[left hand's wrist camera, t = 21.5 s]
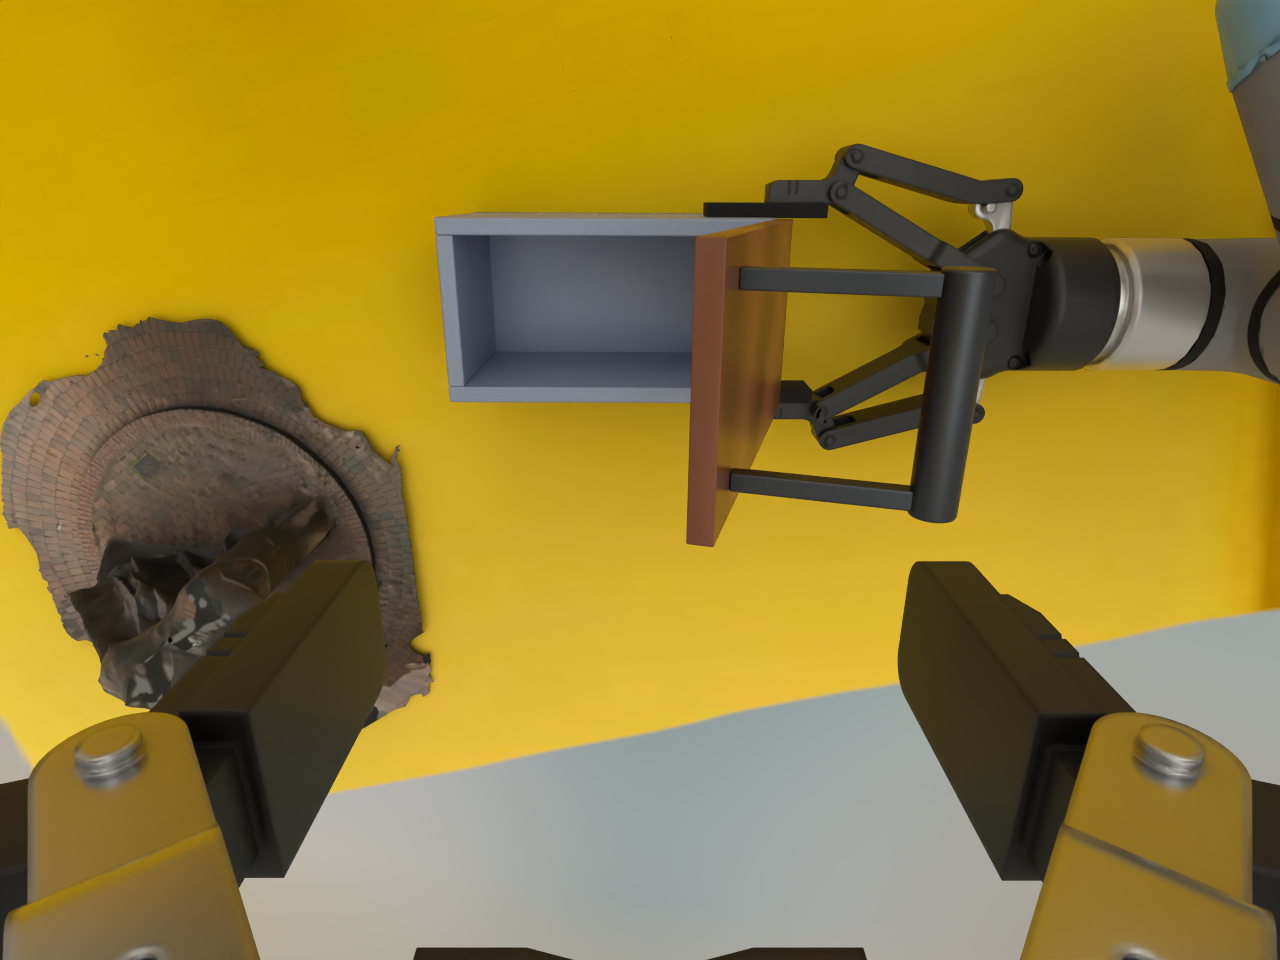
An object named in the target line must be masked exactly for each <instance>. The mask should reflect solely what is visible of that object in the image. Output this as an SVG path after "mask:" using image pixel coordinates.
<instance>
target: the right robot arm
mask: <svg viewBox="0 0 1280 960" xmlns="http://www.w3.org/2000/svg"><path fill="white" fill-rule="evenodd" d="M1215 16H1216V21H1217V26H1218V30H1219V35H1220V40H1221V46H1222V51H1223V56H1224V62H1225V67H1226V72H1227V78H1228V81H1227V83H1226V84H1227V86H1228V89H1229V91H1230V92H1232V94H1233V97H1234V101H1235V104H1236V107H1237V110H1238V113H1239V116H1240V120H1241V123H1242V126H1243V129H1244V132H1245V135H1246V139H1247V142H1248V145H1249V148H1250V151H1251V154H1252V158H1253V161H1254V164H1255V167H1256V170H1257V173H1258V177H1259V180H1260V183H1261V186H1262V189H1263V192H1264V196H1265V199H1266V202H1267V205H1268V208H1269V211H1270V215H1271V219H1272V222H1273V226H1274V228H1275V232H1276V235H1277V238H1238V239H1185V238H1105V239H1102V240H1100V241H1099V240H1097V239H1095V238H1049V237H1023V236H1021V235H1019V234H1017V233H1016V232H1014V231H1012V230H1010V229H1011V218H1012V206H1013V201H1016V200H1017V199H1018V198H1019V197H1020V196H1021V195H1022V192H1023V184H1022V182H1021V181H1020V180H1018V179H1015V178H1007V179H990V180H977V179H973V178H970V177H967V176H963V175H960V174H957V173H954V172H950V171H947V170H944V169H941V168H937V167H934V166H931V165H928V164H924V163H921V162H918V161H915V160H911V159H908V158H905V157H902V156H898V155H895V154H892V153H888V152H885V151H882V150H879V149H875V148H872V147H869V146H866V145H862V144H854V145H850V146H846V147H843V148H840V149H839V150H838V151H837V153H836V155H835V162H834V164H833V166H832V169H831V171H830V173H829V174H828V176H827V177H825V178H824V179H822V180H777V181H773V182H771V183H768V184H766V186H765V203H710V202H704V209H703V216H705V217H767V218H827V214H828V205H829V206H831V207H833V208H834V209H836V210H838V211H839V212H841V213H842V214H844V215H846V216H847V217H849V218H850V219H852V220H854V221H855V222H857V223H859V224H860V225H862V226H863V227H865V228H867V229H868V230H870V231H871V232H873V233H875V234H876V235H878V236H880V237H881V238H883V239H884V240H886V241H888V242H889V243H891V244H892V245H894V246H896V247H897V248H899V249H901V250H902V251H904V252H905V253H907V254H909V255H910V256H912V257H913V258H914V259H915V260H917V261H918V262H920V263H921V264H923V265H925V266H926V267H928V268H929V269H931V271H932V272H941V269H942V268H944V267H948V266H973V267H987V268H993V269H996V270H997V271H998V275H997V281H996V286H995V292H994V298H993V304H992V310H991V316H990V322H989V328H988V334H987V340H986V346H985V352H984V358H983V364H982V370H981V376H980V382H979V388H978V394H977V400H976V406H975V411H974V417H973V423H972V424H976V423H978V422H980V421H981V420H982V419H983V417H984V415H985V411H984V408H983V407H982V406H981V405H979V401H980V397H981V393H982V389H983V385H984V381H985V378H989V377H991V376H993V375H995V374H997V373H999V372H1003V371H1009V370H1041V371H1073V370H1078V369H1081V368H1084V369H1086V370H1089V371H1102V370H1205V371H1228V372H1236V373H1242V374H1246V375H1249V376H1253V377H1256V378H1260V379H1263V380H1266V381H1270V382H1273V383H1276V384H1280V0H1217V2H1216V7H1215ZM858 175H862V176H865V177H868V178H872V179H875V180H878V181H881V182H885V183H888V184H891V185H895V186H898V187H901V188H905V189H908V190H911V191H914V192H918V193H921V194H924V195H928V196H931V197H934V198H938V199H941V200H944V201H948V202H952V203H959V204H968V211H969V214H970V215H971V216H972V217H973V218H977V219H980V220H982V221H983V222H984V223H985V226H986V230H985V231H983V232H982V233H981V234H979V235H978V236H976V237H975V238H973V239H972V240H970V241H969V242H967V243H966V244H964V245H963V246H961V247H960V248H958V249H956V248H954V247H953V246H951V245H950V244H948V243H946V242H943V241H941V240H939V239H938V238H936V237H934V236H933V235H931V234H930V233H928V232H926V231H925V230H923V229H922V228H920V227H918V226H917V225H915V224H914V223H912V222H910V221H909V220H907V219H906V218H904V217H903V216H901V215H899V214H898V213H896V212H895V211H893V210H891V209H890V208H888V207H887V206H885V205H883V204H882V203H880V202H879V201H877V200H875V199H874V198H872V197H871V196H869V195H868V194H866V193H864V192H863V191H861V190H860V189H858V188H856V187H855V186H854V184H855V182H856V179H857V177H858ZM924 298H925V304H924V307H923V309H922V312H921V314H920V318H919V326H918V329H919V330H921V332H922V333H920V334H918V335H916V336H914V337H912V338H910V339H908V340H906V341H905V342H904V343H903V344H902V345H901V346H900V347H898V348H896V349H894V350H892V351H890V352H889V353H887V354H885V355H883V356H881V357H879V358H877V359H875V360H873V361H871V362H869V363H867V364H865V365H863V366H861V367H859V368H857V369H855V370H853V371H851V372H850V373H848V374H846V375H844V376H842V377H840V378H838V379H836V380H834V381H832V382H830V383H828V384H826V385H824V386H822V387H820V388H818V389H816V390H814V391H812V390H811V389H810V388H809V387H808V385H807V384H806V383H805V382H804V381H803V380H781V388H780V402H779V407H778V410H777V412H776V414H775V416H774V418H773V419H805V420H808V421H809V422H810V425H811V432H812V434H813V436H814V437H815V438H816V440H817V441H818V443H819V444H820V445H821V447H823V448H824V449H826V450H832V449H836V448H840V447H844V446H848V445H852V444H856V443H860V442H864V441H868V440H872V439H876V438H880V437H884V436H888V435H892V434H897V433H901V432H905V431H909V430H913V429H917V428H918V427H919V420H920V413H921V406H922V399H923V394H921V395H917V396H913V397H909V398H905V399H901V400H897V401H893V402H889V403H885V404H881V405H877V406H873V407H869V408H865V409H861V410H858V411H854V412H850V413H846V414H842V415H838V416H835V415H837V414H839V413H841V412H843V411H845V410H847V409H849V408H851V407H853V406H855V405H857V404H859V403H861V402H863V401H865V400H867V399H869V398H871V397H873V396H875V395H877V394H879V393H881V392H883V391H885V390H887V389H889V388H891V387H893V386H895V385H897V384H899V383H901V382H903V381H905V380H907V379H909V378H911V377H913V376H915V375H917V374H919V373H921V372H924V371H927V364H928V357H929V349H930V342H931V335H932V328H933V321H934V314H935V307H936V300H937V298H930V297H924ZM833 416H834V417H833Z"/></svg>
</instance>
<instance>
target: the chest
mask: <svg viewBox="0 0 1280 960" xmlns="http://www.w3.org/2000/svg"><path fill="white" fill-rule="evenodd" d="M774 219H777V218H767V217H705V216H703V214H680V213H486V212H476V213H470V214H461V215H452V216H443V217H436V218H435V219H434V220H435V232H436V235H437V236H436V244H437V255H438V267H439V278H440V290H441V301H442V313H443V324H444V336H445V347H446V359H447V370H448V382H449V395H450V402H594V403H691V369H692V335H693V301H694V267H695V238H696V237H698V236H702V235H707V234H711V233H716V232H720V231H725V230H729V229H734V228H738V227H743V226H747V225H752V224H756V223H761V222H765V221H770V220H774Z"/></svg>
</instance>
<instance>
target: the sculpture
mask: <svg viewBox="0 0 1280 960" xmlns="http://www.w3.org/2000/svg"><path fill="white" fill-rule="evenodd" d="M117 327H118V328H117V330H109V332H108V333H104V334H103V338H104V339H105V340H106V343H107V348H106V350H105V351H104V357H105V359H104V358H102V359H103V360H102V363H101V365H100V366H99V367H98V368H97V370H95V371H94V372H92V373H90V374H89V375H88V376H84V375H77V376H72V377H65V378H60V379H57V380H54V381H50V382H49V381H45V380H43V381H41V382H40V383H39V384H38V385H37V387H36V388H34V389H32V390H31V391H30V392H28V393H27V394H26V396H25V397H24V398H23V399H22V401H21V402H20V403H19V404H18V405H17V406H16V407H14V408H13V409H12V410H11V411H10V413H9V415H8V417H7V419H6V421H5V423H4V424H3V429H2V432H1V441H0V442H1V448H2V449H1V451H2V455H3V456H4V457H2V458H3V460H2V462H3V464H2V476H3V477H2V482H3V483H2V496H3V497H2V502H4V506H3V510H4V511H3V513H2V514H3V516H4V517H5V519H6V521H7V522H8V523H7V524H8V528H9V529H10V528H14V527H18V528H20V529H21V531H22V532H23V533H24V535H25V536H26V537H27V539H28V540H29V542H30V543H31V545H32V546H33V548H34V549H35V551H36V553H37V555H38V560H39V566H40V569H39V571H40V572H41V575H42V578H43V580H46V581H48V585H49V586H48V587H47V589H48V591H49V592H50V593H52V596H53V600H54V602H55V605H56V608H57V611H58V613H59V614H60V615H61V621H62V623H63V626H64V627H63V628H64V629H65V631H66V632H67V633H68V634H69V635H70V636H71V637H72V638H73V639H75V640H77V641H81V640H88V641H91V642H92V643H93V646H94V648H95V649H96V651H97V654H98V655H99V657H100V662H101V673H100V677H99V680H98V682H99V683H100V684H101V686H102V688H103V690H104V691H105V692H106V693H108V694H111V695H113V696H114V697H116V698H118V699H121V700H122V701H124V702H125V705H126V706H128V707H136V708H147V709H150V710H151V709H152V708H153V707H154V706H155V705H156V704H157V703H158V701H159V700H160V699H161V698H162V697H163V696H164V695H165V694H166V693H167V692H168V691H169V690H170V689H171V688H172V687H173V686H174V685H175V684H176V683H177V682H178V681H179V679H180V678H181V677H182V676H183V675H184V674H185V673H186V672H187V671H188V670H189V669H190V668H191V667H192V666H193V665H194V664H195V663H196V662H197V661H198V660H199V659H200V657H201V656H206V651H207V650H208V649H209V648H210V647H211V646H212V645H213V644H214V643H215V642H216V641H217V640H218V639H219V638H223V637H224V632H225V631H226V630H227V629H228V628H229V627H230V626H231V625H232V624H233V623H234V622H235V621H236V620H237V619H238V618H239V617H240V616H241V614H242V613H243V612H244V611H246V610H248V609H250V608H251V607H253V606H255V605H256V604H258V603H260V602H262V601H263V600H265V599H267V598H269V597H270V596H272V595H274V594H275V593H285V592H286V591H287V590H288V589H289V588H290V586H291V585H292V584H293V583H294V582H295V581H296V580H297V579H298V578H299V576H300V575H301V574H302V573H303V572H304V571H305V570H306V569H307V568H308V566H309V565H310V564H311V563H312V562H314V561H316V560H367V561H369V562H370V563H371V565H372V567H373V569H374V573H375V577H376V584H377V591H378V598H379V606H380V613H381V620H382V627H383V634H384V641H385V644H387V645H388V646H387V647H386V648H385V649H386V671H385V678H384V683H383V687H382V690H381V693H380V695H379V697H378V699H377V701H376V703H375V704H374V706H373V708H372V710H371V712H370V714H369V716H368V718H367V720H366V722H365V724H364V726H363V727H362V729H363V728H364V727H366V726H368V725H370V724H371V723H373V722H375V721H376V720H378V719H380V718H381V717H383V716H385V715H386V714H388V713H389V712H391V711H393V710H395V709H398V708H401V707H405V706H406V704H407V702H408V700H409V698H410V696H412V695H416V694H420V693H421V694H422V696H423V697H424V696H426V695H427V694H429V692H430V690H429V689H428V687H429V682H434V681H433V680H432V679H431V677H430V676H429V674H430V672H431V668H430V666H429V663H430V662H431V659H430V655H429V653H428V654H427V655H419V654H417V653H415V652H414V651H413V650H412V649H411V648H410V647H409V644H410V642H411V641H412V640H413V639H414V638H416V637H417V636H418V635H420V634H422V633H423V632H425V631H423V630H422V629H421V626H422V622H421V617H420V615H421V614H420V611H419V604H418V601H417V599H418V597H417V590H415V589H416V587H415V586H416V582H415V573H414V572H413V571H414V569H413V567H414V566H413V556H412V552H411V544H410V539H409V538H408V537H407V535H408V534H409V531H408V527H409V526H408V523H407V517H406V513H405V510H404V509H405V503H404V501H403V499H402V497H401V495H402V493H401V491H402V489H401V483H402V481H401V480H402V478H401V473H400V471H401V468H400V466H399V463H398V462H397V461H396V458H397V452H398V451H400V450H399V449H398V447H396V450H395V452H394V454H393V456H392V459H391V463H392V464H393V465H390V464H389V463H387V462H386V461H385V460H383V459H382V458H381V457H380V456H379V455H378V454H377V452H376V451H375V450H374V449H373V448H372V446H371V444H370V442H369V440H368V438H367V437H366V435H365V434H364V433H363V432H362V433H361V431H356V430H353V431H345V430H340V429H338V428H337V427H334V426H333V425H330V424H326V423H325V422H323V421H320V420H319V419H318V418H317V417H313V415H312V413H311V410H310V409H309V408H308V406H307V404H306V403H305V402H303V401H302V396H301V391H300V390H299V389H300V388H298V386H296V385H294V384H293V382H291V381H290V380H288V379H286V378H283V377H281V376H278V375H277V374H276V373H275V372H272V371H270V370H267V369H262V368H260V367H262V366H264V363H263V362H262V361H260V360H259V359H257V358H256V357H255V356H257V355H260V353H259V352H258V351H252V349H250V347H246V346H245V348H243V347H242V345H241V344H240V342H239V341H238V339H237V338H236V337H235V336H234V334H233V333H232V332H231V331H230V330H229V329H228V328H227V327H226V326H225V325H224V324H223V323H221V322H219V321H217V320H211V319H199V320H193V321H188V322H183V323H175V322H169V321H164V320H157V319H155V318H150V317H149V318H148V319H147V320H146V321H141V320H140V323H138V324H136V326H134V327H133V328H131V327H126V326H123V325H121V324H119V325H118V326H117ZM95 355H97V356H99V355H98V354H95ZM85 357H88V355H86V356H85ZM34 392H37V393H39V394H40V398H41V399H40V402H39V404H38V405H37V406H35V407H33V406H31V404H30V396H31V394H32V393H34ZM356 446H358V447H360V448H359V449H357V448H356ZM398 446H399V445H398ZM371 461H373V462H371ZM76 590H77V591H76ZM73 591H74V592H73ZM422 631H423V632H422Z"/></svg>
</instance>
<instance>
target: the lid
mask: <svg viewBox="0 0 1280 960" xmlns="http://www.w3.org/2000/svg"><path fill="white" fill-rule="evenodd" d="M792 223H793V220H792V219H774V220H770V221H765V222H761V223H756V224H752V225H747V226H743V227H738V228H734V229H729V230H725V231H720V232H716V233H711V234H707V235H702V236H698V237H696V238H695V267H694V301H693V335H692V369H691V403H690V436H689V470H688V504H687V538H686V543H687V544H692V545H699V546H707V547H714V545H715V542H716V540H717V538H718V536H719V534H720V532H721V530H722V527H723V525H724V523H725V521H726V519H727V517H728V515H729V512H730V510H731V508H732V506H733V504H734V502H735V500H736V497H737V495H738V493H739V492H740V493H750V494H759V495H768V496H777V497H786V498H795V499H804V500H813V501H823V502H832V503H841V504H850V505H859V506H868V507H877V508H886V509H895V510H905V511H908V514H909V515H911V516H912V517H914V518H916V519H918V520H922V521H925V522H931V523H948V522H952V521H954V520H955V519H956V517H957V513H958V507H959V501H960V495H961V489H962V483H963V477H964V471H965V465H966V459H967V453H968V447H969V441H970V435H971V429H972V423H973V417H974V411H975V406H976V400H977V394H978V388H979V382H980V376H981V370H982V364H983V358H984V352H985V346H986V340H987V334H988V328H989V322H990V316H991V310H992V304H993V298H994V292H995V286H996V281H997V275H998V271H997V270H996V269H993V268H987V267H973V266H948V267H944V268H942V269H941V272H932V271H899V270H865V269H832V268H798V267H789V264H790V250H791V237H792ZM787 292H800V293H826V294H852V295H878V296H904V297H930V298H937V300H936V307H935V314H934V321H933V328H932V335H931V342H930V349H929V357H928V364H927V371H926V378H925V385H924V392H923V399H922V406H921V413H920V420H919V427H918V434H917V441H916V448H915V455H914V462H913V469H912V476H911V483H910V486H909V485H899V484H889V483H879V482H870V481H860V480H850V479H840V478H830V477H820V476H810V475H800V474H790V473H781V472H771V471H761V470H751V469H750V467H751V465H752V463H753V461H754V459H755V457H756V455H757V452H758V450H759V448H760V446H761V444H762V442H763V440H764V437H765V435H766V433H767V431H768V429H769V427H770V425H771V422H772V420H773V418H774V416H775V414H776V412H777V410H778V407H779V402H780V388H781V374H782V361H783V347H784V333H785V319H786V305H787Z"/></svg>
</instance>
